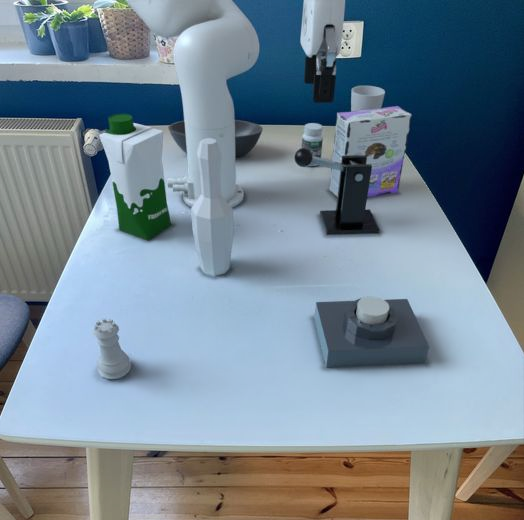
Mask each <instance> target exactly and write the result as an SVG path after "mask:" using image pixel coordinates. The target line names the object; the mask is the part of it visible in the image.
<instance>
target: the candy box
mask: <svg viewBox="0 0 524 520" xmlns="http://www.w3.org/2000/svg"><path fill="white" fill-rule="evenodd" d="M412 117H413V115H412V114H411V113H410V112H408V111H407V110H405V109H403V108H402V107H400V106H398V105H396V106H387V107H381V108H378V109H369V110H360V111H351V110H350V111H342V112H336V119H335V128H334V131H335V132H334V139H333V148H332V158H331V161H335V162H339V163H341V162H342V156H351V155H366V156H367V161H366V164H371V166H372V170H371V177H370V183H369V190H368V196H367V198H368V197H369V198H370V197H375V196H376V197H377V196H382V195H388V194H389V195H390V194H395V193H398V192H399V188H400V182H401V178H402V177H401V176H402V171H403V165H404V160H405V154H406V150H407V144H408V137H409V132H410V126H411V121H412ZM339 179H340V170H336V169H332V168H330V178H329V190H328V191H330V193H332V195H333V196H334V197H335V198H336V199H337V196H338V188H339Z"/></svg>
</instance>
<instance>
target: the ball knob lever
mask: <svg viewBox="0 0 524 520" xmlns="http://www.w3.org/2000/svg"><path fill="white" fill-rule="evenodd" d="M294 162H295V164H296V165H297V166H299V168H306V167H309V166H308V165H310V163H312V164H316V165H317V166H321V167H324V168H329V169H331V168H332V169H336V170H340V171H344V172H345V173H346V164H343V163H339V162H335V161H332V159H327V158H322V157H321V158H319V157H315V156H313V155H312V152H311V151H310V150H309V149H307V148H302V147H301V148H299V149H297V151H296V152H295V154H294ZM359 164H363V163H359V162H355V161H351V160H350V161H349V164H348V165H359Z"/></svg>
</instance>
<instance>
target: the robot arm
mask: <svg viewBox="0 0 524 520" xmlns="http://www.w3.org/2000/svg"><path fill="white" fill-rule="evenodd" d="M124 1H125V2H126V3H127V4H128V5H129V6H130V8H131V9H132V10H133V11H134V12H135V14H137V16H138V17H139V18H140V19H141V20H142V22H144V24H145V25H146V26H147V27H148V28H149V30H151V31H152V32H153V33H154V34H155V35H157V36H159V37H161V38H174V37H177V39H176V40H175V43H174V45H173V52H172V53H173V54H172V56H173V64H174V69H175V72H176V76H177V80H178V85H179V88H180V93H181V102H182V111H183V121H184V122H185V134H186V146H187V154H186V158H187V169H188V171H187V174H186V175H184V176H182V177H179V178H178V177H167V179H166V180H167V181H166V182H167V188H170V189H171V188H172V191H173V193H178V192H179V193H180V192H182V199H183V202H184V203H185V204H186V205H187V206H189V207H190V208H192V207H193V205H194V204H195V202H196V201H197V200H198V198H199V197H200V195H201V181H200V171H199V165H198V159H197V152H198V147H199V143H200V141H201V140H202V139H206V138H212V139H215V140H216V141H217V144H218V146H219V149H220V152H221V170H220V182H221V195H222V196H223V198H224V199H225V200H226V201H227V203H228V204H229V205H230V206H231V208H232V209H233V208H234V207H236V206H238V205H239V204H241V203H242V202H243V200H244V198H245V197H244V196H245V195H244V194H245V192H244V189H243V188H242V187H241V186H240V185H239V184H237V171H236V170H237V168H236V167H237V166H236V165H237V164H236V162H237V161H236V159H235V120H236V119H235V107H234V106H235V105H234V100H233V97H232V95H231V93H230V90H229V87H228V83H227V80H230V79H232V78H234V77H236V76H238V75H241V74H243V73H245V72H247V71H249V70H250V69H251V68H252V67H254V65H255V64H256V62H257V60H258V58H259V54H260V41H259V37H258V36H259V35H258V33H257V31H256V29H255V27H254V26H253V24H252V23H251V21H250V19H249V18H248V17H247V16H246V15H245V14H244V12H242V10H241V9H240V8H239V6H238V5H237V4H236V3H235V2H234V1H233V0H124ZM302 4H303V5H302V18H301V28H300V39H299V40H300V42H299V43H300V45H301V47H302V50H303V51H304V53H305V55H306V56H305V59H304V60H305V61H304V75H303V82H304V84H306V85H311V84H312V85H313V87H312V102H313V103H314V104H327V103H328V104H330V103H333V102H334V99H335V89H336V80H337V79H336V78H337V57H338V56H339V55H340V53H341V48H342V41H343V32H344V22H345V21H344V20H345V8H346V0H303V3H302Z"/></svg>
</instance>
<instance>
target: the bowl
mask: <svg viewBox="0 0 524 520" xmlns="http://www.w3.org/2000/svg"><path fill="white" fill-rule="evenodd" d="M167 129H168V131H169V134H170V136H171V137H172V140H174V142H175V144H176V145H177V146H178V147H179V149H180V150H181V151H183V152H184V153H185V154H186V155H187V146H186V134H185V122H184V120H181V121H176V122H172V123H171V124H169V125H168V127H167ZM263 130H264V128H263V127H262V126H261V124H258V123H255V122H251V121H247V120H240V119H235V160H238V159H242V158H245V157H246V156H247V155H248V154H249V153H250V152H251V151H253V149H254V148H255V146H256V145H257V143H258V142H259V139H260V138H261V135H262V132H263Z"/></svg>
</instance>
